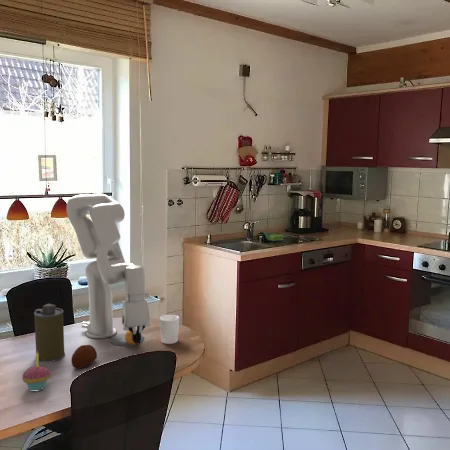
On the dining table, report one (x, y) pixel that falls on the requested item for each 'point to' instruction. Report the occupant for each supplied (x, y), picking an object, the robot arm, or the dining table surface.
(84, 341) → the dining table surface
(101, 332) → the robot arm
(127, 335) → the ball
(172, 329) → the white cup
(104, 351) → the dining table surface
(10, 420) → the dining table surface
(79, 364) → the potato
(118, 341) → the disc
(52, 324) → the canister
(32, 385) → the cupcake
